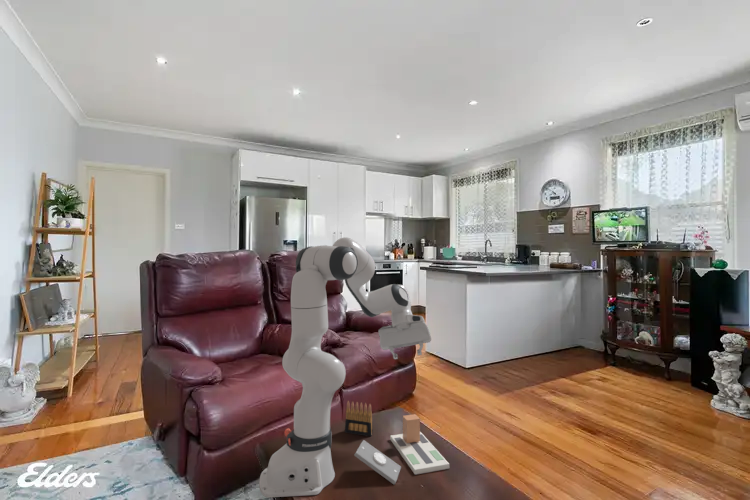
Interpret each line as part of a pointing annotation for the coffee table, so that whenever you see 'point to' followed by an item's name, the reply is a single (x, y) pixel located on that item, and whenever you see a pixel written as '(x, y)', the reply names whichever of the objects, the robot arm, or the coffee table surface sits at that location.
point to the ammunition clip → (358, 420)
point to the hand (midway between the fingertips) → (407, 356)
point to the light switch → (378, 461)
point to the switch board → (420, 454)
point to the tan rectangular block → (411, 428)
